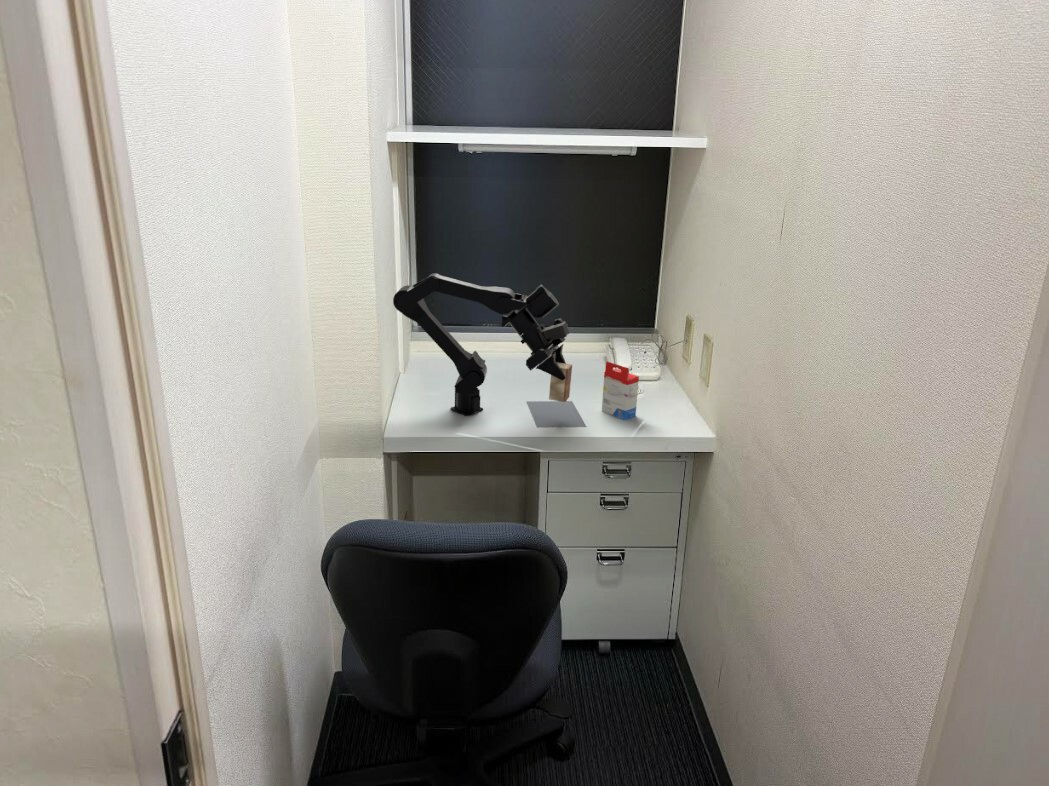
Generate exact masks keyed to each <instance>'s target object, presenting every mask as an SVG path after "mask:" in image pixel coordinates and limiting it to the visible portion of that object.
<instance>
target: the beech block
mask: <svg viewBox="0 0 1049 786" xmlns="http://www.w3.org/2000/svg"><path fill="white" fill-rule="evenodd" d="M557 364H558V366H559V367H560V369H561V370H562V372H563V374H564V376H565V379H564V380H560V379H558V378H556V377H554V376H552V375H550V384H549V392H548V393H549V395H548V401H561V402H566V401H568V400H569V398H570V393H571V392H570V391H571V381H572V372H573V370H572V369H573V364H570V363H567V362H566V363H559V362H557Z"/></svg>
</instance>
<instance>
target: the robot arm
mask: <svg viewBox="0 0 1049 786" xmlns="http://www.w3.org/2000/svg"><path fill="white" fill-rule="evenodd" d="M433 292H437V293H440V294H444V295H448V296H452V297H455V298H459V299H463V300H466V301H467V300H468V301H471V302H473V303H474V302H475V303H478V304H480V305H482V306H484V307H485V308H487V309H489V310H491V311H493V312H495V313H497V314H499V315H502V316H501V327H502V328H504V327H506V326H507V325H508V324H509V325H510V326H511V327H512V329H513V330H514V331H515V333H517V335H518V336H519V337H520V339H521V340H520V343H521V344H522V345H523V344H525V345H526V346H527V347H528V349H530V351H531V352H530V356H529V357H528V358H526V361H525V362H526V363H525V366H526V368H527V369H528V370H529V371H532V370H533V369H535V370H540V371H543V372H544V373H547V374H548V375H550V376H551V375H552V376H554V377H556V378H558V379H560V380H564V379H565V376H564V374H563V372H562V370H561V369H560V367H559V366H558V364H557V362H559V363H566V364H567V362H566V361H565V356H564V355H563V347H564V342H565V341H566V338H567V336H568V335H570V331H569V329H568V327H569V324H568V323H567V322H566V321H564V320H563V319H562V318H558V319H557V318H556V319H555V320H554V321H553V325H550V326H547V327H546V326H545V325H544V324H542V323H540V324H539V323H538V322H537V321H536V319H538V318H541V319H543V318H545V317H546V316H547V315H548V314H550V313H551V312H553V310H554V309H555V308H557V307H559V305H560V303H559V301H558V299H557V298H556V297H555V296H554V294H553V293H552V292H551V291H549V290H548V288H546V287H545V286H544V285H543V284H540V285H539V286H537V287H536V289H535V290H534V291H533V292H531V293H530V294H529V295H525V294H520V293H515V291H514V290H512V289H511V288H509V287H504V286H501V287H500V286H481V285H478V284H474V283H470V282H468V281H467V282H466V281H463V280H458V279H455V278H452V277H448V276H444V275H441V274H439V273H437V272H435V273H430V275H428V277H426V278H423V279H421V280H419V281H418V282H415V283H414V284H413V285H407V284H406V285H404V286H402V287H401V288H400V289H399V290H398V291H397V292H396V293H395V294H394V296H393V298H392V299H393V301H392V302H393V303H392V304H393V306H394V308H395V309H396V310H397V311H398V312H400V313H401V314H402V315H403V316H405V317H406V318H408V319H409V320H411V321H414V322H415V323H417V325H419V327H421V329H422V330H423V331H424V332H425V333H426V334H427V335H428V336H429V337H430V339H432V340H433V342H434V343H435V345H437V346H438V348H440V349H441V351H442V352H443V353H444V354H445V355H446V356H447V357H448V358H449V359H450V360H451V361H452V363H453V364H454V367H455V368H456V371H457V373H458V377H457V379H456V381H455V385H454V386H453V387H454V406H452V407H451V406H450V408H449V409H450V411H453V412H456V413H458V414H461V415H464V416H471V415H474V414H476V413H479V412H482V411H484V408H483V407H481V395H480V392H481V390H480V389H479V387H480V386H481V385H483V383H484V382H485V379H486V376H487V375H488V374H487V373H488V367H487V365H486V359H484V358H482V357H481V356H480V354H479V353H478V352H477V350H474V351H473V352H472V353H471V352H469V351H467V350H466V349H464V347H462V345H461V344H460V343H459V341H457V340H456V339H455V337H454V336H453V335H452V334H451V333H450V331H448V330H447V328H445V327H444V326H443V325H442V323H441V322H440V321H439V320H438V319H437V317H435V315H433V314H432V312H431V311H430V309H429V307H428V305H427V303H426V302H425V298H426V297H428V296H429V295H432V294H433ZM535 318H536V319H535ZM559 345H560V346H559Z"/></svg>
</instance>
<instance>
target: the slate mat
mask: <svg viewBox="0 0 1049 786" xmlns="http://www.w3.org/2000/svg"><path fill="white" fill-rule="evenodd" d="M526 405H527V407H528V409H529V411H530V414H531V416H532V418H533V421H534V423H535V425H536V428H538V429H539V428H540V429H541V428H587V425H586V423H585V421H584V420H583V418H582V416H581V414H580V412H579V410H578V409H577V408H576V405H575V404H574V402H573V400H567V401H566V402H561V401H555V400H544V401H543V400H542V401H541V400H539V401H538V400H537V401H536V400H534V401H533V400H530V401H528V400H527V401H526Z"/></svg>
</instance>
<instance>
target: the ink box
mask: <svg viewBox="0 0 1049 786" xmlns="http://www.w3.org/2000/svg"><path fill="white" fill-rule="evenodd" d="M604 369H605V370H604V374H603V387H602V403H601V412H602V413H605V414H608V415H611V416H614V417H616V418H618V419H621V420H624V421H625V420H628V419H631V418H634V417H636V415H637V403H638V391H639V379H640V376H639V375H635V374H632V373H630V368H628V367H626V366H622V365H619V364H617V363H613V362H611V361H606V362H605V368H604Z"/></svg>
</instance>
